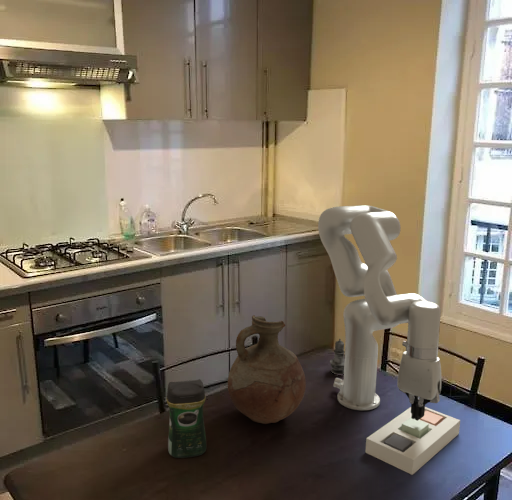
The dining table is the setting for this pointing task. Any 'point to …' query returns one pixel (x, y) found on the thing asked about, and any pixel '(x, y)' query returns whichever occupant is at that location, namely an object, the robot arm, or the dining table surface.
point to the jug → (265, 375)
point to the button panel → (420, 448)
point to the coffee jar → (186, 418)
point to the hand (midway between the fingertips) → (417, 417)
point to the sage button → (415, 427)
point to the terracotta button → (431, 418)
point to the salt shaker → (338, 358)
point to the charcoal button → (398, 443)
